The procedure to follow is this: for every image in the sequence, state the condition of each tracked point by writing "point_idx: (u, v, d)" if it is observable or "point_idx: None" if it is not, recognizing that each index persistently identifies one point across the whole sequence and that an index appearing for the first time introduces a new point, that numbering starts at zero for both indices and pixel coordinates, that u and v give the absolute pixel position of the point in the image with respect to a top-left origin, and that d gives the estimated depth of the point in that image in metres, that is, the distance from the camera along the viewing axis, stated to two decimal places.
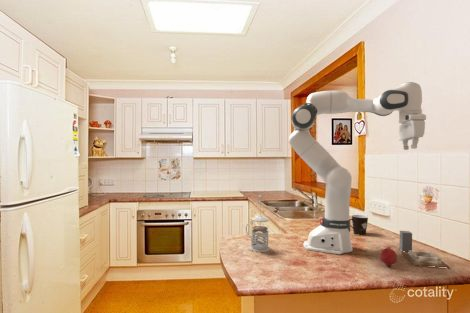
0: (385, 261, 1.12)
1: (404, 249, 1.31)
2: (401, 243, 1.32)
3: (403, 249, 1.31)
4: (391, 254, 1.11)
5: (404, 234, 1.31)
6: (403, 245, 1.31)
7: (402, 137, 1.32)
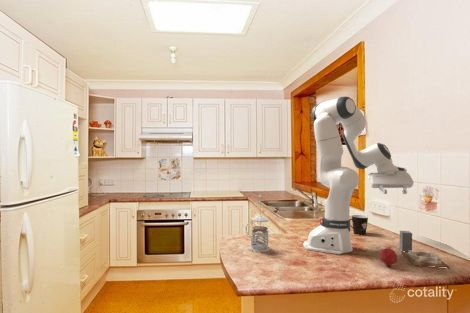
0: (385, 261, 1.12)
1: (404, 249, 1.31)
2: (401, 243, 1.32)
3: (403, 249, 1.31)
4: (391, 254, 1.11)
5: (404, 234, 1.31)
6: (403, 245, 1.31)
7: (384, 182, 1.47)
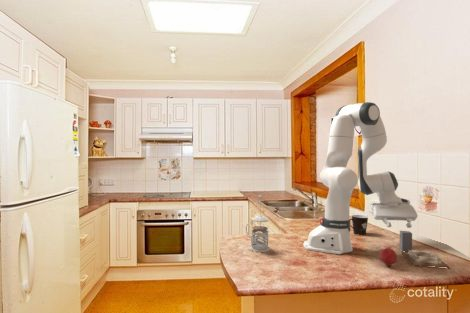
0: (385, 261, 1.12)
1: (404, 249, 1.31)
2: (401, 243, 1.32)
3: (403, 249, 1.31)
4: (391, 254, 1.11)
5: (404, 234, 1.31)
6: (403, 245, 1.31)
7: (388, 214, 1.41)
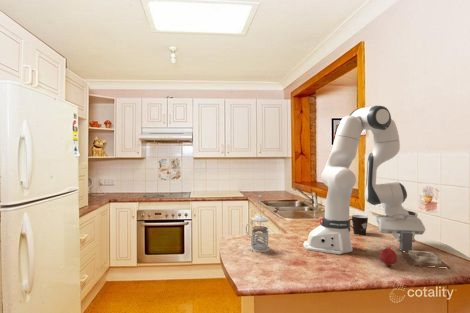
0: (385, 261, 1.12)
1: (404, 249, 1.31)
2: (401, 243, 1.32)
3: (403, 249, 1.31)
4: (391, 254, 1.11)
5: (404, 234, 1.31)
6: (403, 245, 1.31)
7: (395, 228, 1.35)
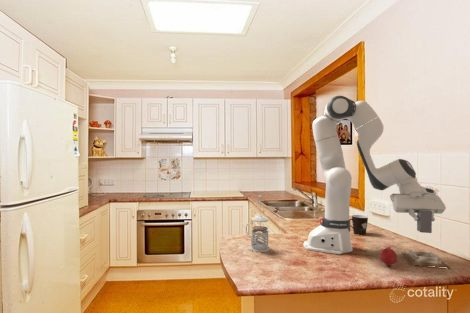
0: (385, 261, 1.12)
1: (423, 229, 1.17)
2: (419, 222, 1.19)
3: (421, 229, 1.18)
4: (391, 254, 1.11)
5: (423, 212, 1.17)
6: (421, 224, 1.18)
7: (412, 206, 1.22)
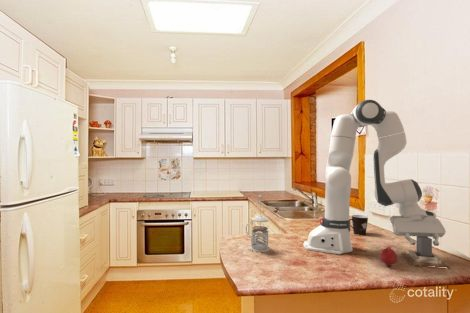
0: (385, 261, 1.12)
1: None
2: (419, 250, 1.19)
3: None
4: (391, 254, 1.11)
5: (423, 240, 1.17)
6: (422, 252, 1.17)
7: (411, 230, 1.21)
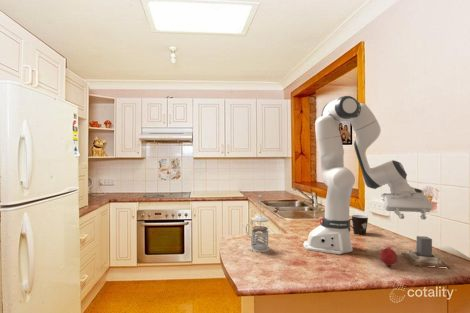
0: (385, 261, 1.12)
1: None
2: (419, 250, 1.19)
3: None
4: (391, 254, 1.11)
5: (423, 240, 1.17)
6: (422, 252, 1.17)
7: (401, 205, 1.31)
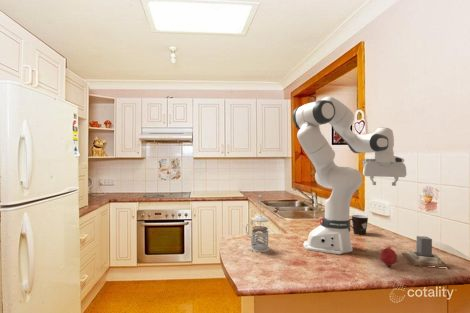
0: (385, 261, 1.12)
1: None
2: (419, 250, 1.19)
3: None
4: (391, 254, 1.11)
5: (423, 240, 1.17)
6: (422, 252, 1.17)
7: (376, 174, 1.48)
